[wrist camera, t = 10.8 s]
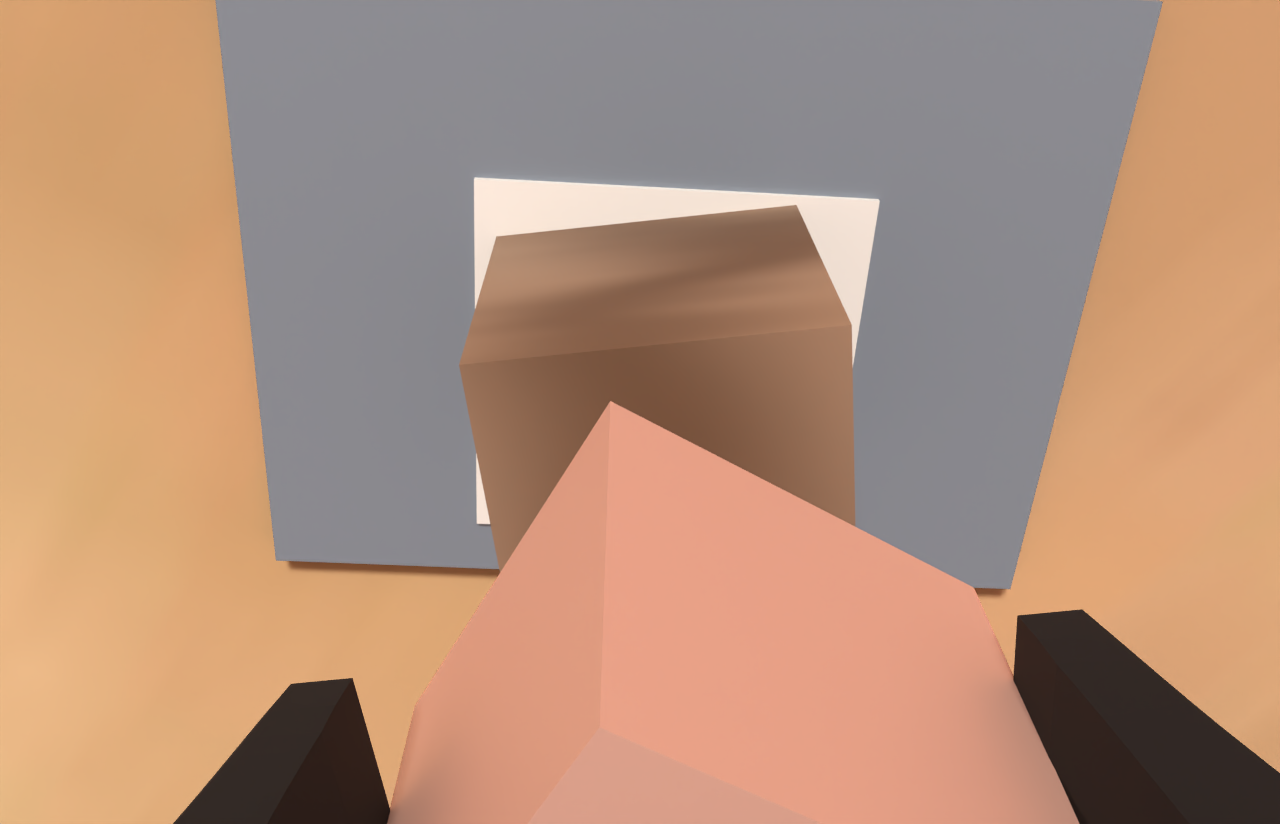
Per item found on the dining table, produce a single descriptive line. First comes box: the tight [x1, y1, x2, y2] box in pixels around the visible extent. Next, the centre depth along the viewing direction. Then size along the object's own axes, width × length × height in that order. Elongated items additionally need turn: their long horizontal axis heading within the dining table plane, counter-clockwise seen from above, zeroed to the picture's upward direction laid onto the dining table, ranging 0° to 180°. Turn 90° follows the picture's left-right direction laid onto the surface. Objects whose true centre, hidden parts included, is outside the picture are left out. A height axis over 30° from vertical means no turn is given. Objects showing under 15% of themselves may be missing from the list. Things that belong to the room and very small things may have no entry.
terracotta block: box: [387, 401, 1079, 824], centre depth 11 cm, size 4×4×4 cm
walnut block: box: [459, 205, 855, 572], centre depth 16 cm, size 4×4×4 cm
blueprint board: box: [216, 0, 1163, 589], centre depth 18 cm, size 13×10×1 cm
